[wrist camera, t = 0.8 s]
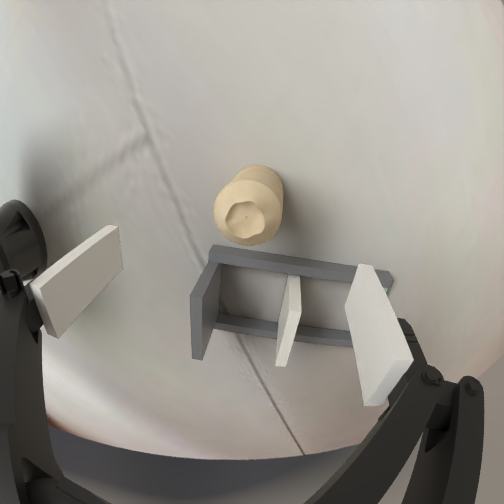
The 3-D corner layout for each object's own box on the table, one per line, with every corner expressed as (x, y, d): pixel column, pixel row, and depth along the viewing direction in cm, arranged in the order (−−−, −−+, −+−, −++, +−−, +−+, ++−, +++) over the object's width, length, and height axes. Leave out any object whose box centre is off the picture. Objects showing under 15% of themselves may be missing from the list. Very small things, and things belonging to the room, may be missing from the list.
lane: (210, 318, 38) (192, 364, 30) (213, 244, 33) (189, 285, 25) (360, 338, 37) (372, 386, 29) (388, 271, 32) (412, 315, 24)
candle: (248, 155, 28) (229, 170, 19) (293, 181, 29) (296, 209, 20) (223, 198, 30) (197, 231, 21) (266, 222, 31) (257, 265, 22)
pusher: (278, 321, 37) (275, 365, 30) (289, 269, 33) (289, 310, 26) (287, 322, 37) (285, 366, 29) (299, 270, 33) (301, 312, 26)
